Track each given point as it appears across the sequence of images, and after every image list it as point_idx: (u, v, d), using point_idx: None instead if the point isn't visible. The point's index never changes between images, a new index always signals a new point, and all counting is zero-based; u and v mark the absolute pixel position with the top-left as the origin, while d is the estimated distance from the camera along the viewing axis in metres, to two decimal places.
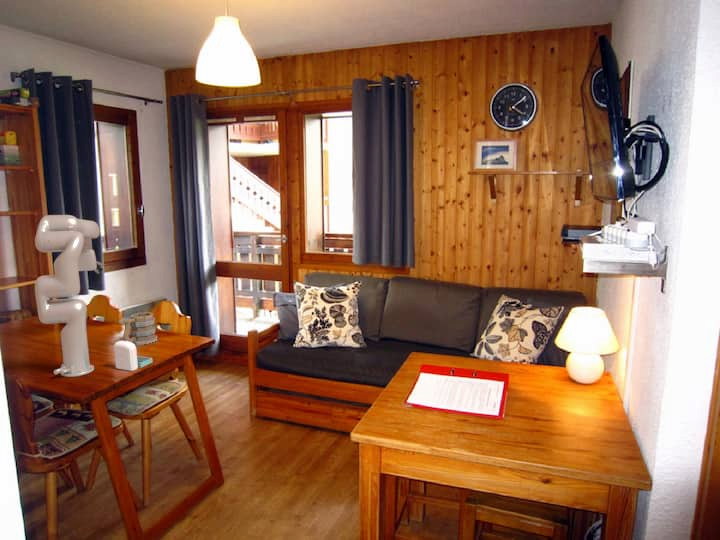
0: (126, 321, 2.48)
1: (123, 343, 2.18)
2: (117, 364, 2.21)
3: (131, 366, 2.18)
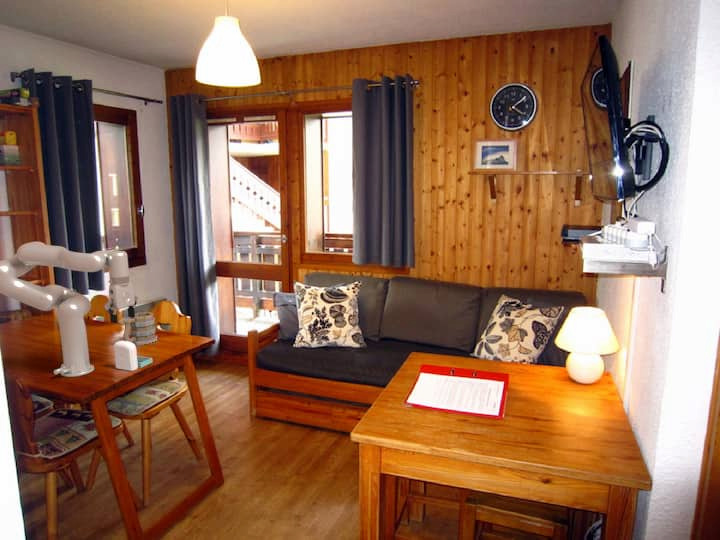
0: (126, 321, 2.48)
1: (123, 343, 2.18)
2: (117, 364, 2.21)
3: (131, 366, 2.18)
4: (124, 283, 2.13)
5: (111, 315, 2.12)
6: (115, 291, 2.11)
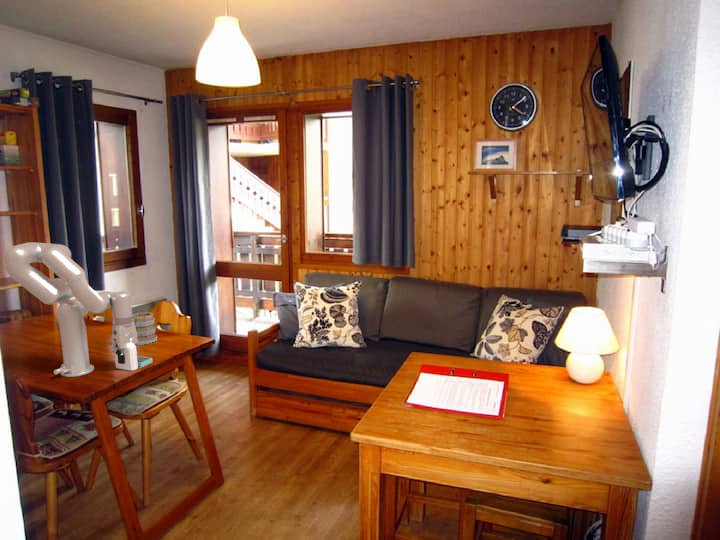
0: None
1: None
2: (117, 364, 2.21)
3: (131, 366, 2.18)
4: (127, 323, 2.16)
5: (119, 356, 2.17)
6: (118, 332, 2.14)
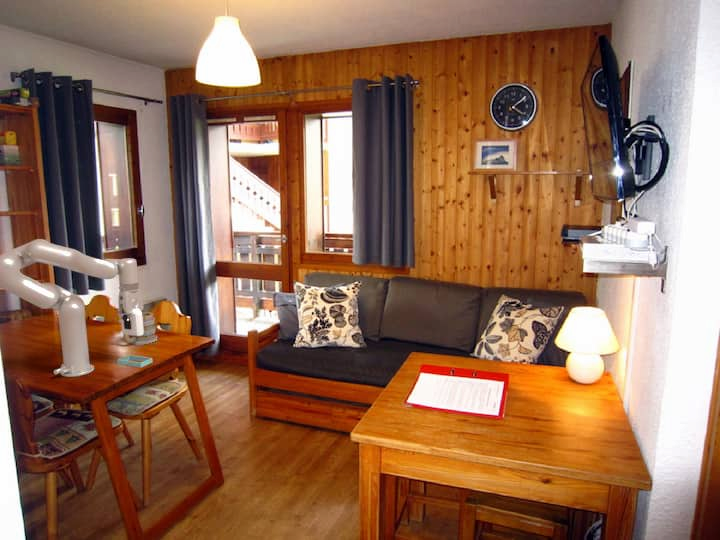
0: None
1: None
2: (123, 330, 2.25)
3: (137, 331, 2.22)
4: (133, 289, 2.20)
5: (125, 321, 2.21)
6: (125, 297, 2.18)
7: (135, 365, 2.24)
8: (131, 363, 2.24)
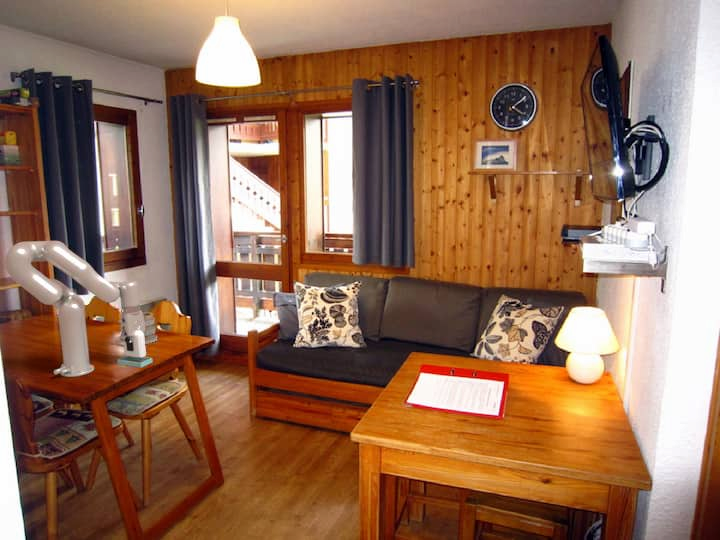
0: None
1: None
2: (126, 351, 2.27)
3: (139, 353, 2.24)
4: (135, 312, 2.22)
5: (127, 343, 2.23)
6: (127, 320, 2.20)
7: (135, 365, 2.24)
8: (131, 363, 2.24)
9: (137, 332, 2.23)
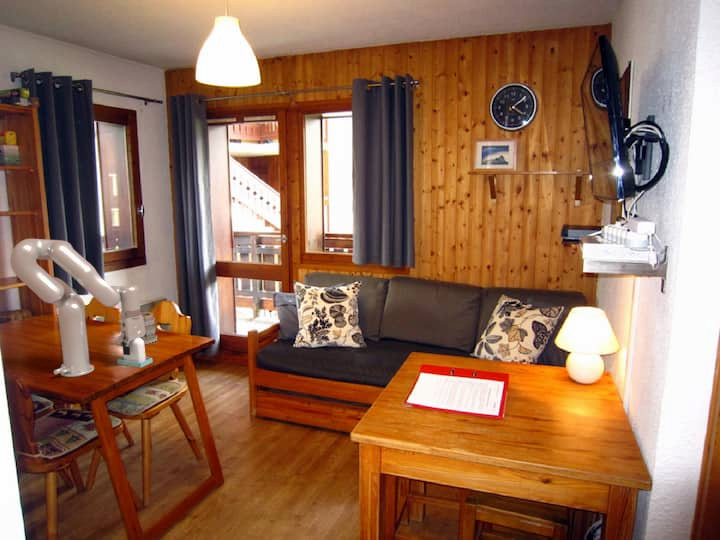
0: None
1: None
2: (125, 359, 2.27)
3: (139, 360, 2.24)
4: (136, 316, 2.22)
5: (124, 347, 2.22)
6: (127, 324, 2.20)
7: (135, 365, 2.24)
8: (131, 363, 2.24)
9: (137, 340, 2.24)
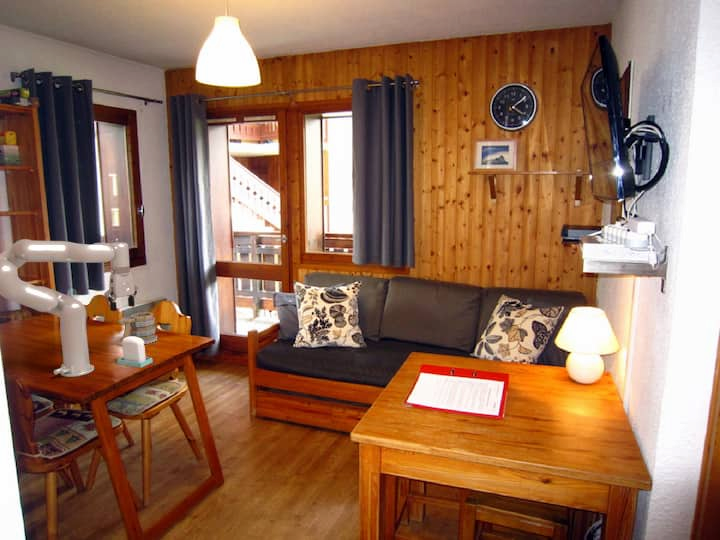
0: (126, 321, 2.48)
1: (131, 338, 2.25)
2: (125, 359, 2.27)
3: (139, 360, 2.24)
4: (124, 273, 2.23)
5: (111, 303, 2.22)
6: (115, 280, 2.21)
7: (135, 365, 2.24)
8: (131, 363, 2.24)
9: (137, 340, 2.24)
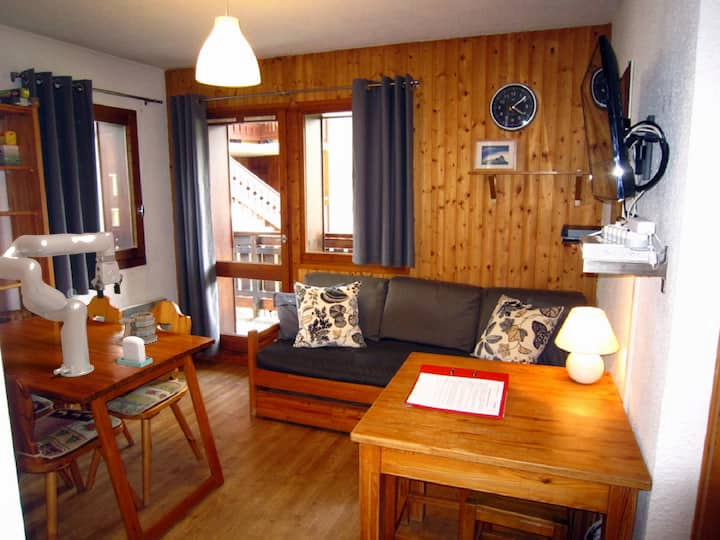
0: (126, 321, 2.48)
1: (132, 338, 2.25)
2: (125, 359, 2.27)
3: (139, 360, 2.24)
4: (110, 261, 2.29)
5: (98, 291, 2.28)
6: (101, 268, 2.27)
7: (135, 365, 2.24)
8: (131, 363, 2.24)
9: (137, 340, 2.24)
